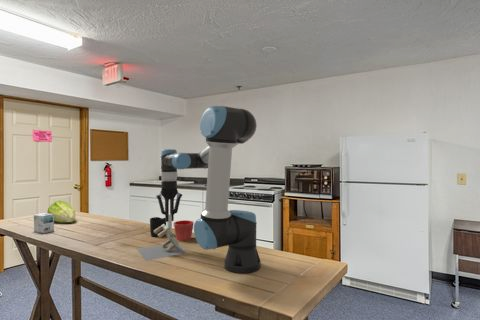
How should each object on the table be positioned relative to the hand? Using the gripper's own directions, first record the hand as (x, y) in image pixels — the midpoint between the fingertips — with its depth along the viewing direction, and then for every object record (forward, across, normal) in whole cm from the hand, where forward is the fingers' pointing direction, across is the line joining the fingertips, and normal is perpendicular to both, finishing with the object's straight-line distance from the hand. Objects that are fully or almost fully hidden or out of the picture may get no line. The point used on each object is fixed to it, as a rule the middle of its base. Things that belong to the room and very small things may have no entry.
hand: (169, 227), depth 147 cm
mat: (+11, +4, +1) cm, 12 cm away
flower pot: (+11, -12, -14) cm, 21 cm away
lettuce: (+11, +49, -103) cm, 115 cm away
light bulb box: (+11, +58, -77) cm, 97 cm away
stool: (+9, -1, 0) cm, 9 cm away
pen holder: (+11, -2, -31) cm, 33 cm away
